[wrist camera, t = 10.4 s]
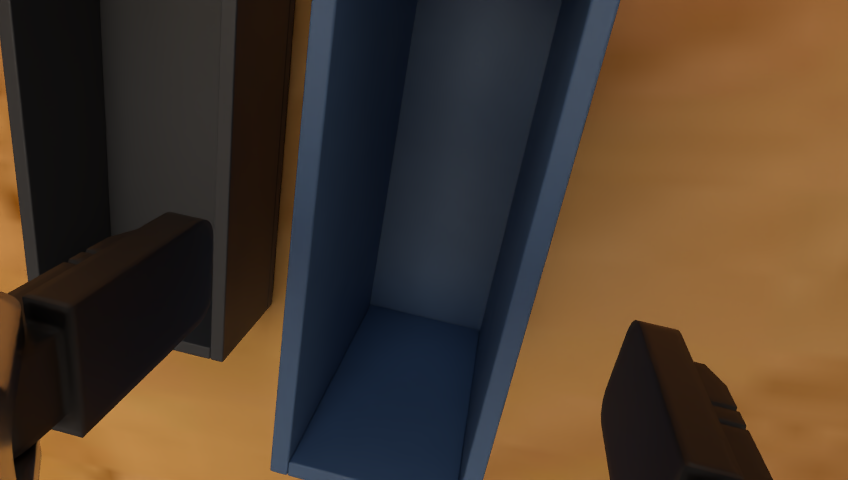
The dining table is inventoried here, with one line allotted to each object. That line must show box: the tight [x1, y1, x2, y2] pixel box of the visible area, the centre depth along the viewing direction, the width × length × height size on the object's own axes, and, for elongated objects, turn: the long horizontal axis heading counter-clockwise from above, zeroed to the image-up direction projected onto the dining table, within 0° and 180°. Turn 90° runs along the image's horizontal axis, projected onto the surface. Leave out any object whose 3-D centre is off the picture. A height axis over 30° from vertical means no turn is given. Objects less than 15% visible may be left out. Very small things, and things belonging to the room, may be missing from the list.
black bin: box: [0, 0, 295, 362], centre depth 20 cm, size 16×8×4 cm, turn 170°
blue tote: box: [271, 0, 620, 480], centre depth 17 cm, size 14×6×10 cm, turn 170°
